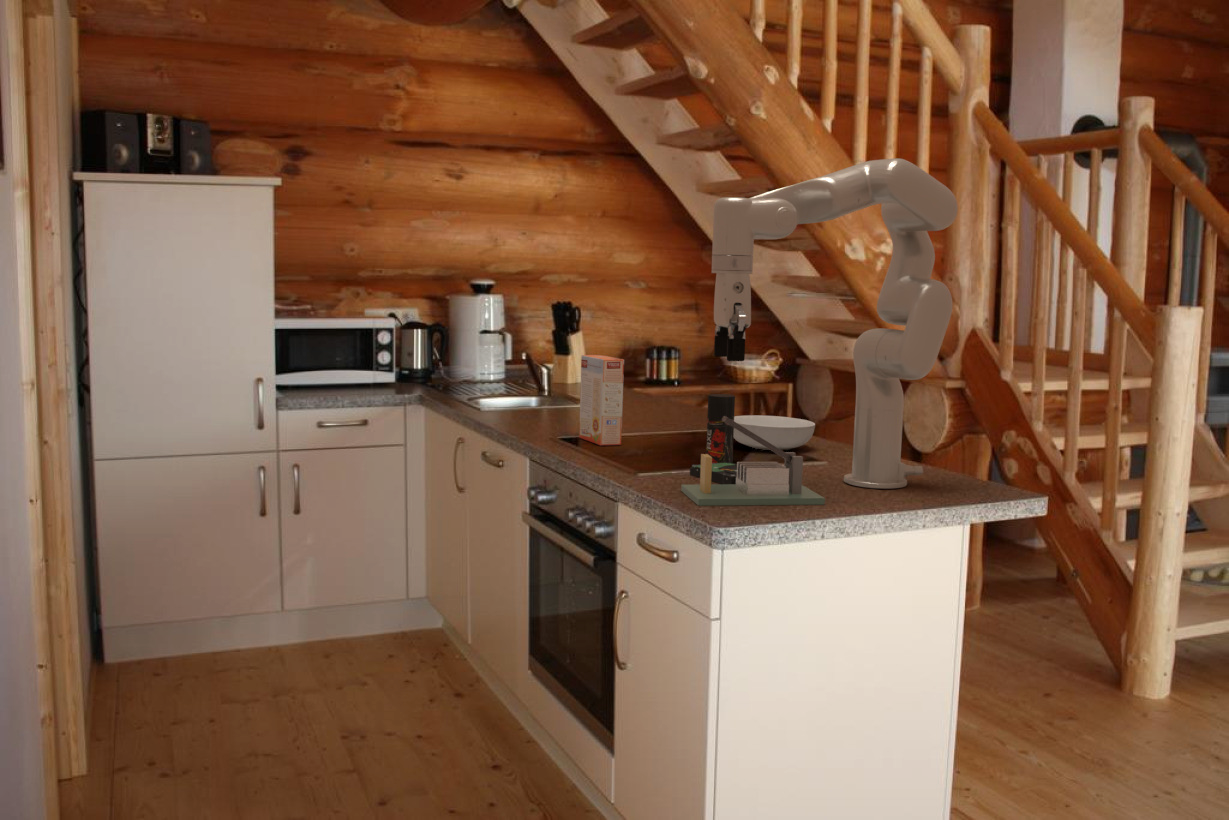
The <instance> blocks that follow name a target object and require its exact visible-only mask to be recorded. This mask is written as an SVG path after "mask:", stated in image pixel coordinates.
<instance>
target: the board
mask: <svg viewBox="0 0 1229 820" xmlns="http://www.w3.org/2000/svg"><path fill="white" fill-rule="evenodd" d="M784 452H785V451H784ZM785 453H787V454H788V455H794V456H792V465H790V464H789V463H788V462H787V460H786V459H784V465H783V466H786V468H789V482H788V484H789V495H746V494H744V493H743V492H742V491H740V490H739V489H737V488H736V484H719V483H716V484H713V483H712V481H711V473H712V457H711V456H709V455H708V454H706V453H705V454H704V453H701V454H700V465H701V471H700V478H699V484H681V485H680V487H681V488H680V491H681V492H682V493H683V494H685V496H687V497H688V499H690V500H691V501H693V502H694V504H696V505H697V506H701V507H703V506H704V507H706V506H800V505H801V506H802V505H803V506H807V505H808V506H810V505H811V506H813V505H815V506H816V505H820V506H821V505H822V506H823V505H824V506H825V502H826V497H823V496H822V495H820V494H819V493H817V492H815V491H814V490H812V489H810V488H808V487H807V486H805V485H803V466H804V465H803V464H804V456H803V455H796V452H794V451H792V452H791V451H790V452H789V451H788V452H787V451H786V452H785Z"/></svg>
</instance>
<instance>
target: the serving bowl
mask: <svg viewBox="0 0 1229 820" xmlns="http://www.w3.org/2000/svg"><path fill="white" fill-rule="evenodd" d="M734 422H736V423H738V424H739V425H741V426H743V427H744V428H746V429H747V430H749V431H751V432H752V433H754V434H756V435H757V436H759V437H761V438H762V439H764V440H766V441H767V442H769V443H770V444H772V445H774V446H775V447H777V448H779V449H780V450H786V451H788V450H792V449H796V448H797V449H798V448H800V447H802V446H804V445H805V444H807V443H808V442H809V441H810V440H811V438H812V437H813V436H814V435H813V434H814V432H815V429H816V423H815V422H813V421H810V420H807V419H803V418H802V419H801V418H795V417H787V416H781V415H780V416H778V415H777V416H776V415H754V414H753V415H752V414H751V415H749V414H748V415H747V414H746V415H736V416H735V415H734ZM734 439H735V441H737V442H738V443H739V444H742V445H745V446H747V447H749V448H751V447H752V448H751V449H753V448H755V449H754V450H757V449H763V450H770V449H768V448H766V447H765V446H763V445H761V444H760V443H758V442H756V441H755V440H753V439H751V438H750V437H748V436H747V435H745V434H743V433H742V432H740V431H738V430H737V429H735V428H734V435H733V440H734ZM763 450H762V451H763Z"/></svg>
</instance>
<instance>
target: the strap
mask: <svg viewBox="0 0 1229 820" xmlns="http://www.w3.org/2000/svg"><path fill="white" fill-rule="evenodd" d="M722 421H724V422H725V423H727V424H728V425H730V426H732V427H733V428H735V429H737V430H738V431H740V432H742V433H743V434H745V435H747V436H748V437H750V438H751V439H753V440H755V441H756V442H758V443H760V444H761V445H763V446H765V447H766V448H768V449H770V450H771V451H770V452H773V453H774V454H776V455H778V456H779V457H780V458H783V459H784V460H785V459H786V460H787V462H788V463H789V464H790V465H792V456H794V455H788V454H787V453H785V451H782V450H780V449H779V448H777V447H775V446H774V445H772V444H770V443H769V442H767V441H766V440H764V439H762V438H761V437H759V436H757V435H756V434H754V433H752V432H751V431H749V430H747V429H746V428H744V427H743V426H741V425H739V424H738V423H736V422H734V421H733V420H731V419H729V418H728V417H726V416H723V418H722Z"/></svg>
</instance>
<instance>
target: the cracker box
mask: <svg viewBox="0 0 1229 820" xmlns="http://www.w3.org/2000/svg"><path fill="white" fill-rule="evenodd" d="M580 360H581V361H580V362H581V363H580V365H581V366H580V367H581V368H580V399H579V402H580V403H579V425H578V426H579V428H578V429H579V431H578V432H579V433H578V438H580V439H582V440H585V441H588V442H590V443H593V444H596V445H598V446H601V447H604V446H605V447H606V446H608V447H609V446H621V445H622V429H623V428H622V427H623V426H622V425H623V402H624V400H623V399H624V375H625V374H624V372H625V359H623V358H618V357H613V356H609V355H602V354H583V355H581V359H580Z"/></svg>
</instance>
